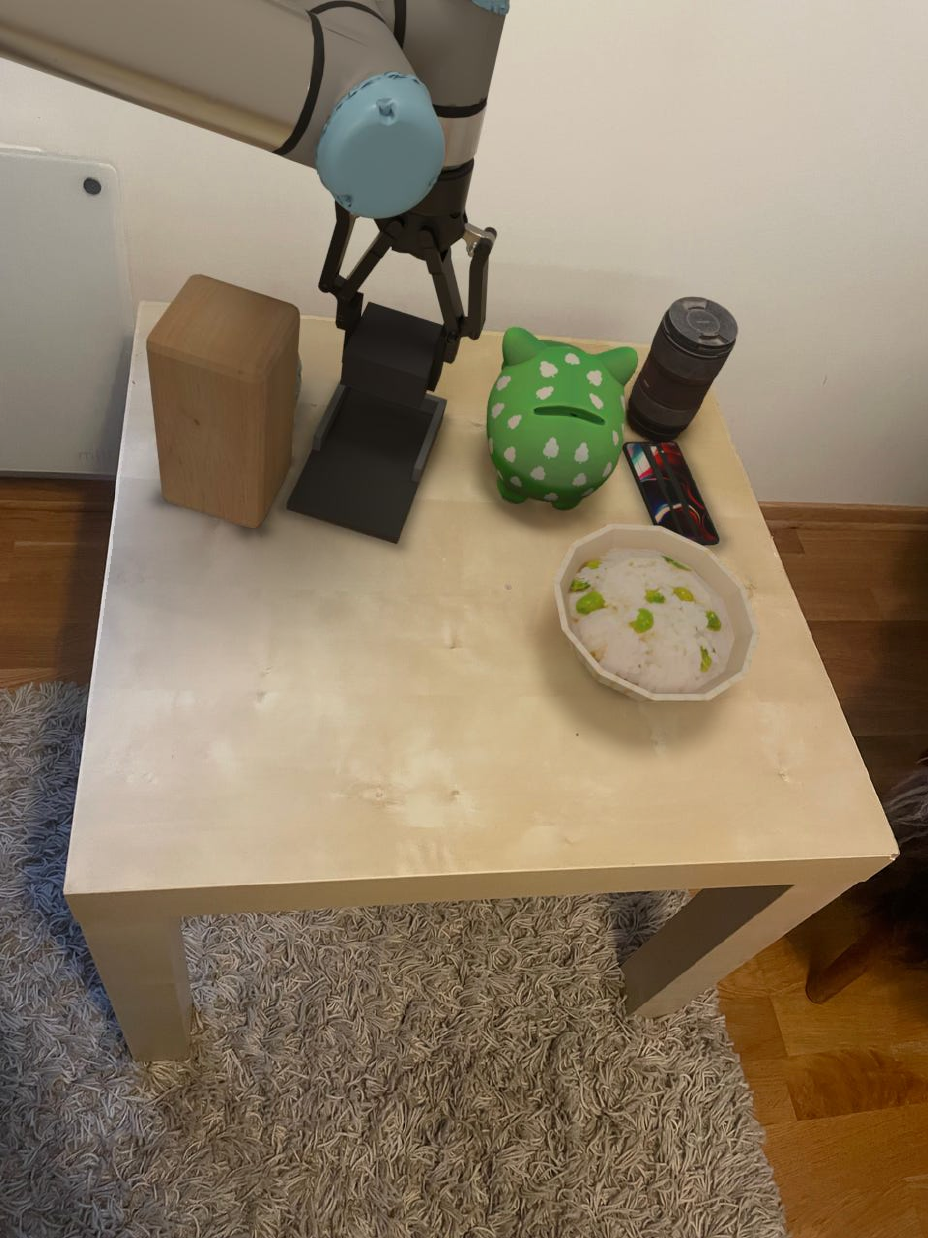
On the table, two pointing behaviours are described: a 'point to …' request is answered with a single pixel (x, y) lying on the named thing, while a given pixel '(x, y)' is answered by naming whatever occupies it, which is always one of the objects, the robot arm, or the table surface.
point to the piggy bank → (556, 418)
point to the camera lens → (680, 367)
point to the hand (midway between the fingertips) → (391, 368)
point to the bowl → (654, 614)
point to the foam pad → (391, 355)
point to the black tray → (367, 462)
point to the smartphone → (670, 490)
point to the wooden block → (224, 398)
